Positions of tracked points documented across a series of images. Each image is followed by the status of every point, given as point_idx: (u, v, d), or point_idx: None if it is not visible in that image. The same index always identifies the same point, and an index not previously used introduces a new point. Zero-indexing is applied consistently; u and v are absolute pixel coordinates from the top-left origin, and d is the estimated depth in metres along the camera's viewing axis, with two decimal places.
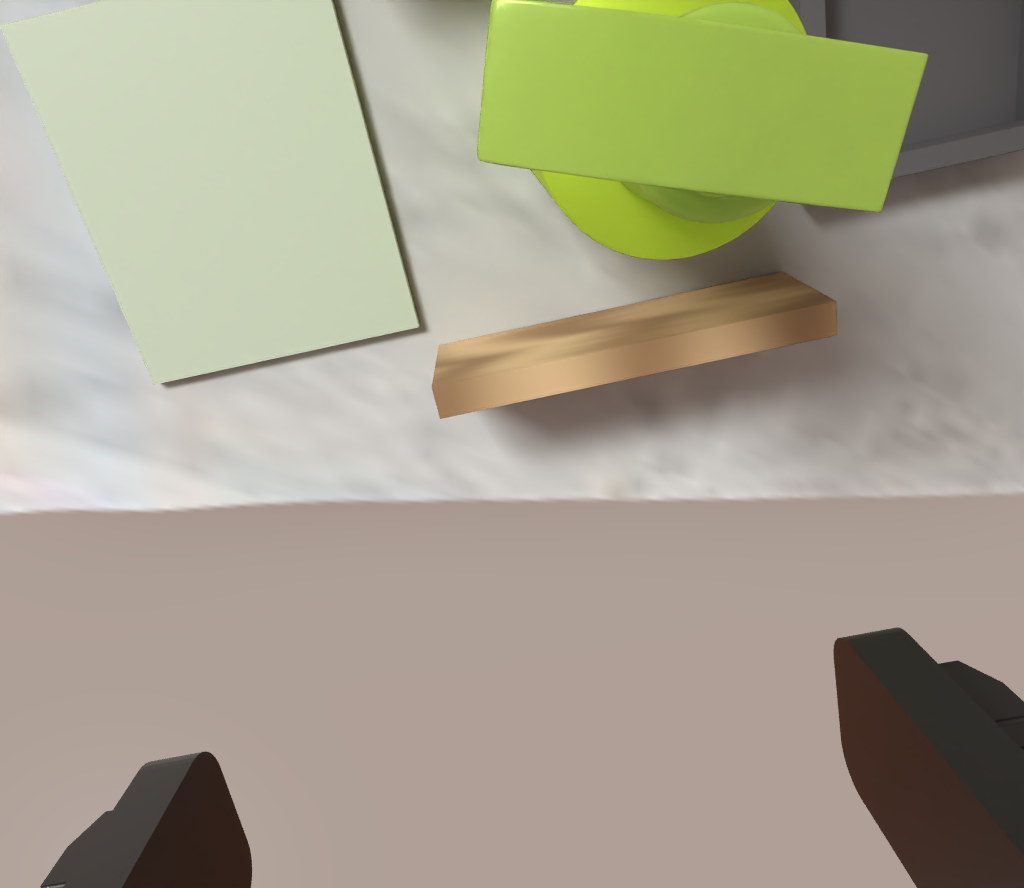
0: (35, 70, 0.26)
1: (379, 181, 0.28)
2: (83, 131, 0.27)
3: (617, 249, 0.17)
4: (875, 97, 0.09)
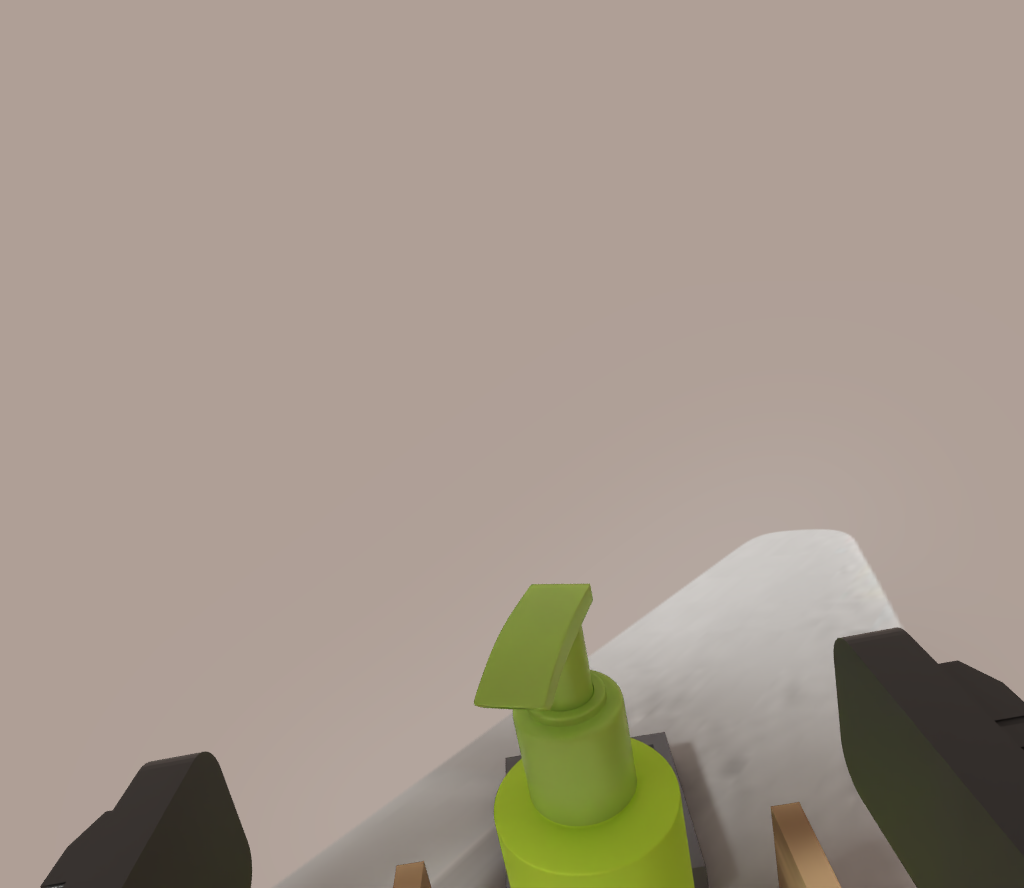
0: None
1: None
2: None
3: (672, 821, 0.22)
4: (543, 591, 0.23)
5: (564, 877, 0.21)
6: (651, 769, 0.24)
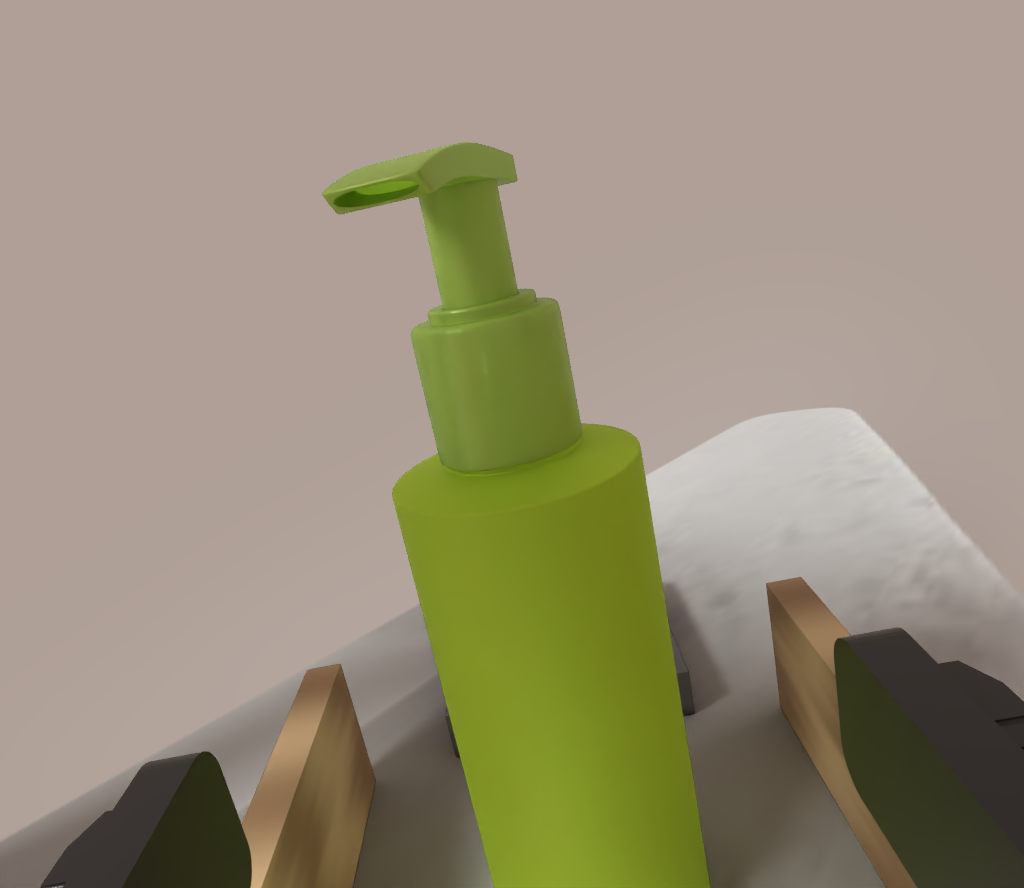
0: None
1: None
2: None
3: (627, 462, 0.16)
4: None
5: (475, 520, 0.15)
6: (603, 431, 0.18)
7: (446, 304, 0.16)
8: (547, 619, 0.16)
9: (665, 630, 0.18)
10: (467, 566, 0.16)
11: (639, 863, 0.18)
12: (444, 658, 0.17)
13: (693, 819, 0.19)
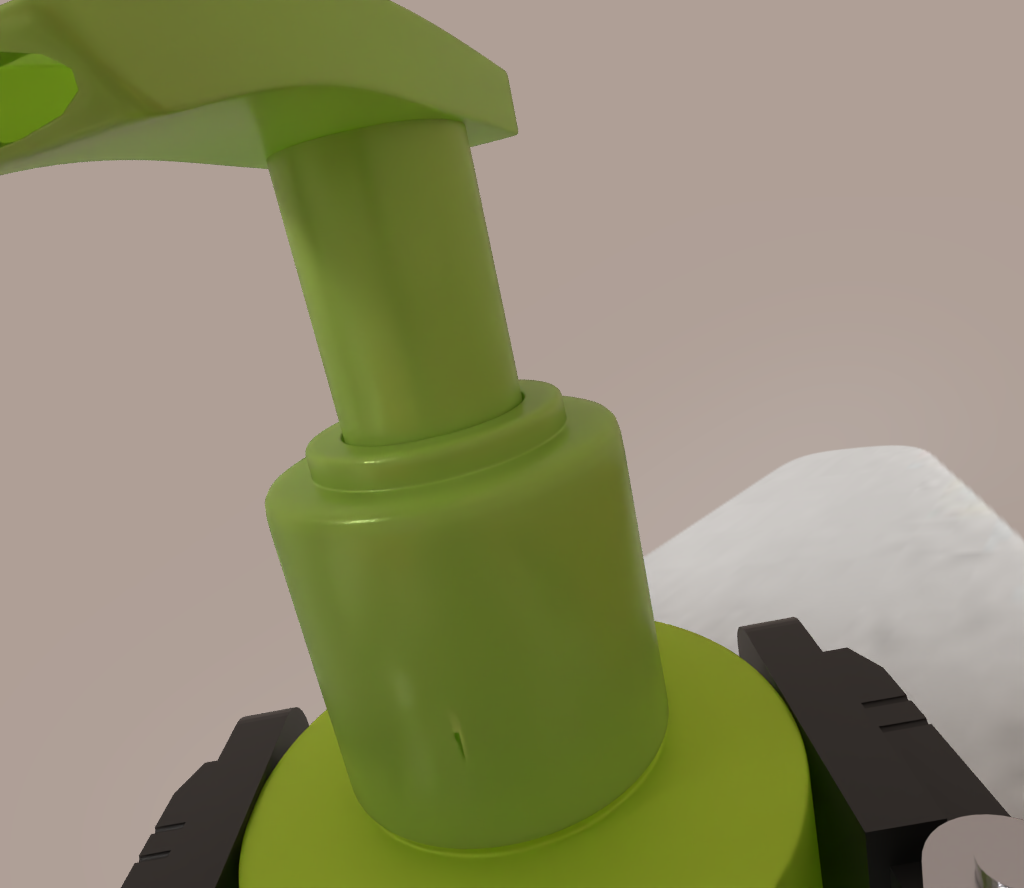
0: None
1: None
2: None
3: (795, 825, 0.07)
4: None
5: None
6: (707, 679, 0.08)
7: (346, 432, 0.07)
8: None
9: None
10: None
11: None
12: None
13: None
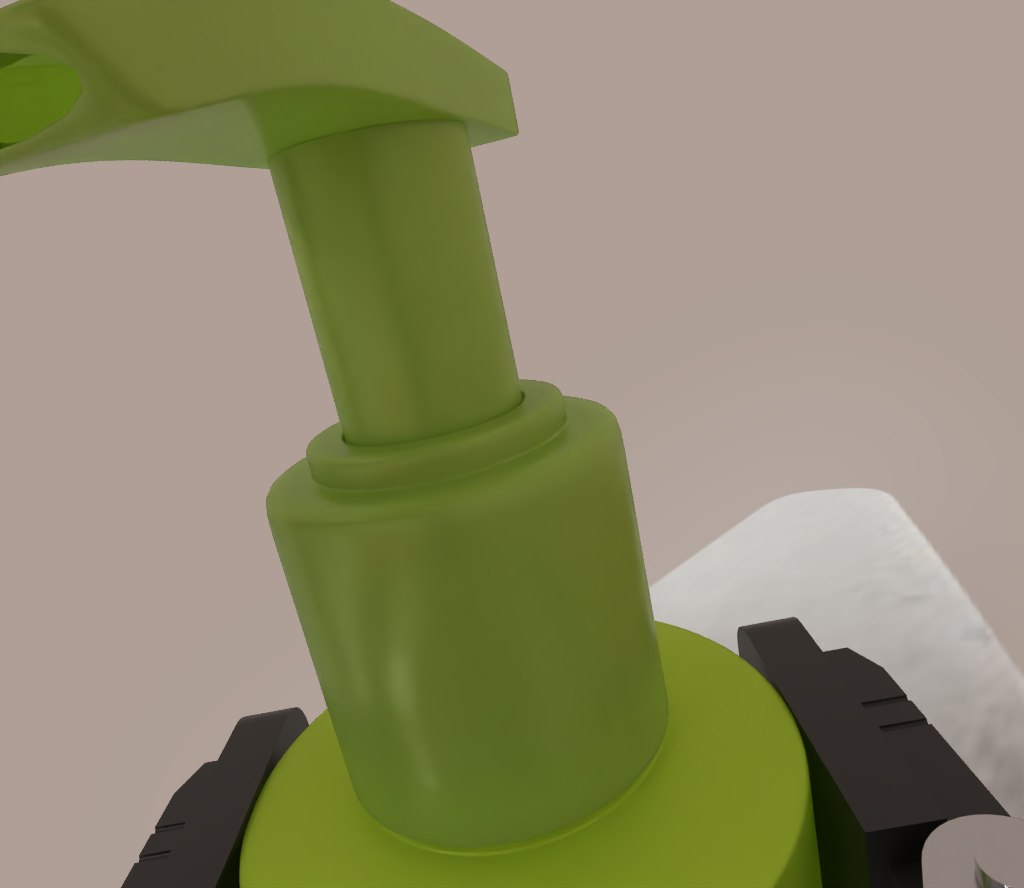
0: None
1: None
2: None
3: (794, 824, 0.07)
4: None
5: None
6: (706, 678, 0.08)
7: (347, 431, 0.07)
8: None
9: None
10: None
11: None
12: None
13: None
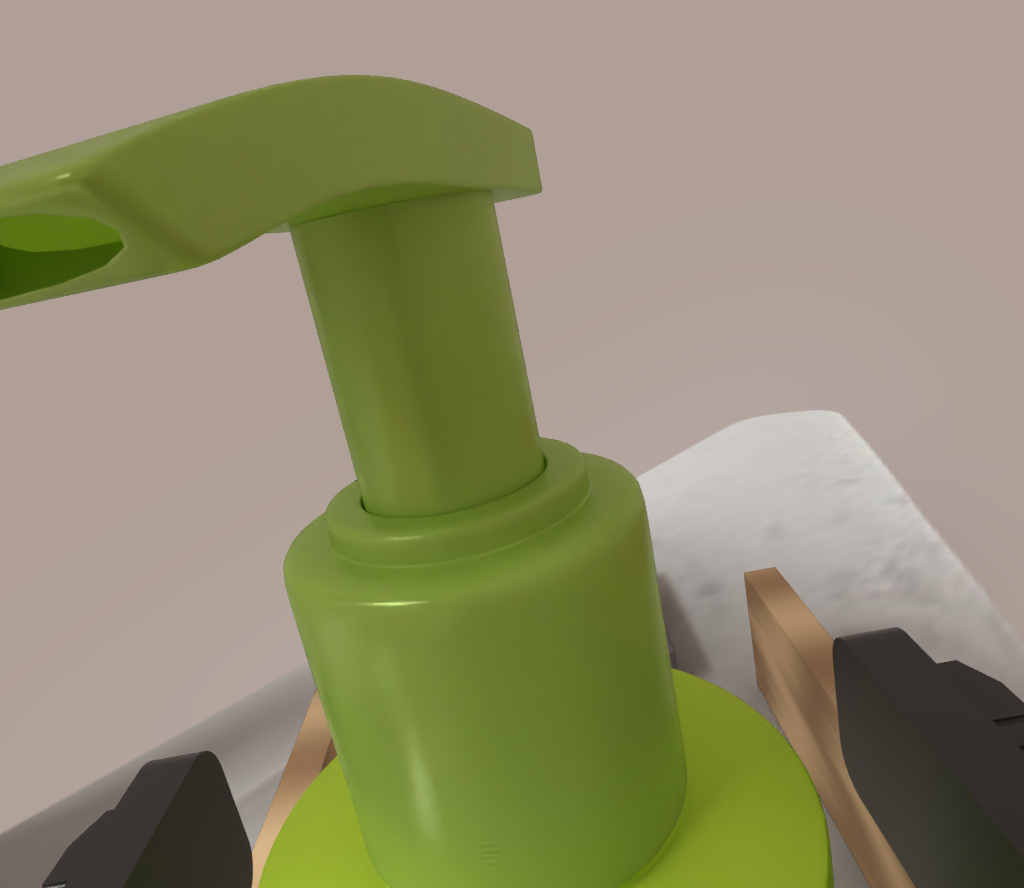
0: None
1: None
2: None
3: None
4: None
5: None
6: (724, 736, 0.08)
7: (367, 499, 0.07)
8: None
9: None
10: None
11: None
12: None
13: None
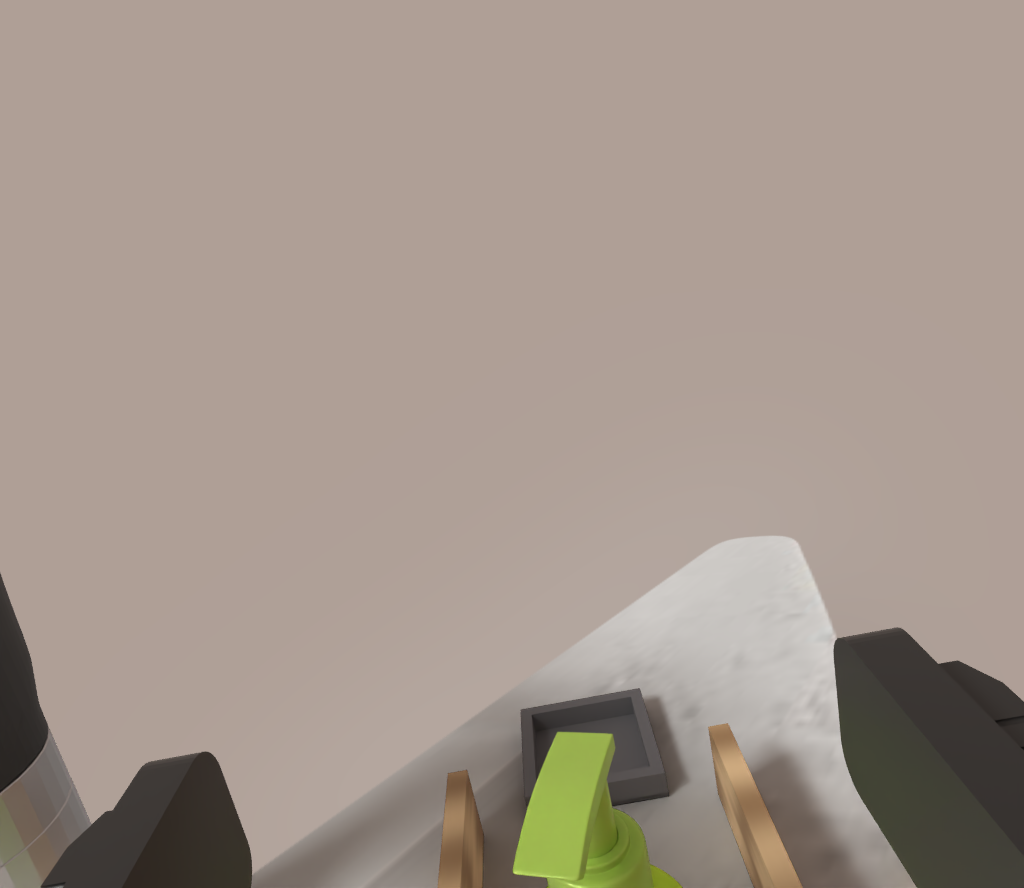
0: None
1: None
2: None
3: None
4: (569, 741, 0.24)
5: None
6: None
7: None
8: None
9: None
10: None
11: None
12: None
13: None
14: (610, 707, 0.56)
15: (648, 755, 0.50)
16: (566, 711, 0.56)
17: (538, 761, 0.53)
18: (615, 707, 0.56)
